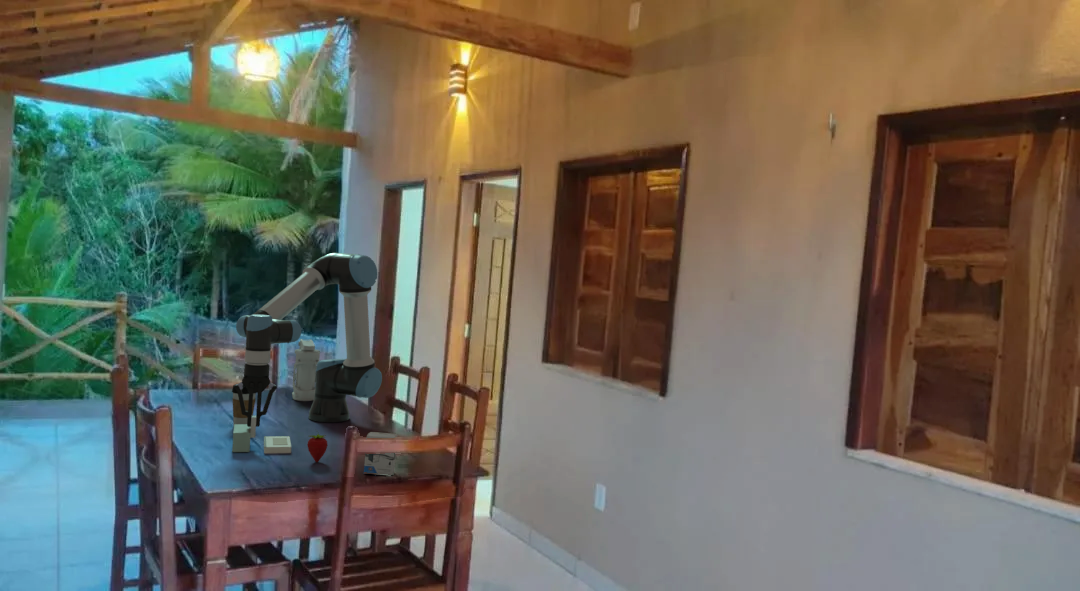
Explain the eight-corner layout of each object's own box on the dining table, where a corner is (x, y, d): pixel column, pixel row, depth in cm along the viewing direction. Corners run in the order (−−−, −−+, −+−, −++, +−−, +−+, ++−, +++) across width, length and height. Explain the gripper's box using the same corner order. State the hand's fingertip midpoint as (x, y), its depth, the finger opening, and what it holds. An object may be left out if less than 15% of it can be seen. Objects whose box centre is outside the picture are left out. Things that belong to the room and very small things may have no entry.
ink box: (362, 475, 224) (365, 435, 223) (366, 470, 229) (368, 431, 228) (392, 477, 224) (395, 437, 224) (395, 472, 229) (397, 433, 229)
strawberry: (308, 465, 229) (310, 432, 228) (304, 459, 236) (306, 427, 235) (328, 464, 231) (330, 432, 231) (324, 458, 238) (326, 426, 238)
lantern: (318, 401, 327) (322, 343, 326) (293, 401, 323) (297, 342, 322) (314, 395, 339) (317, 339, 338) (289, 395, 334) (293, 338, 333)
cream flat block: (289, 442, 254) (289, 436, 254) (290, 453, 241) (291, 446, 241) (263, 442, 252) (264, 436, 252) (264, 453, 239) (264, 446, 238)
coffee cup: (246, 430, 267) (248, 387, 266) (224, 427, 268) (227, 384, 268) (259, 425, 275) (262, 384, 274) (238, 422, 277) (241, 381, 276)
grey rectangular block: (249, 442, 249) (250, 423, 249) (249, 451, 238) (250, 432, 238) (233, 442, 247) (234, 423, 247) (232, 452, 236) (233, 432, 236)
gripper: (278, 362, 249) (273, 433, 249) (235, 361, 244) (231, 434, 245) (279, 365, 241) (274, 439, 242) (235, 364, 237) (230, 439, 238)
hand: (252, 436), depth 244 cm, fingers closed
